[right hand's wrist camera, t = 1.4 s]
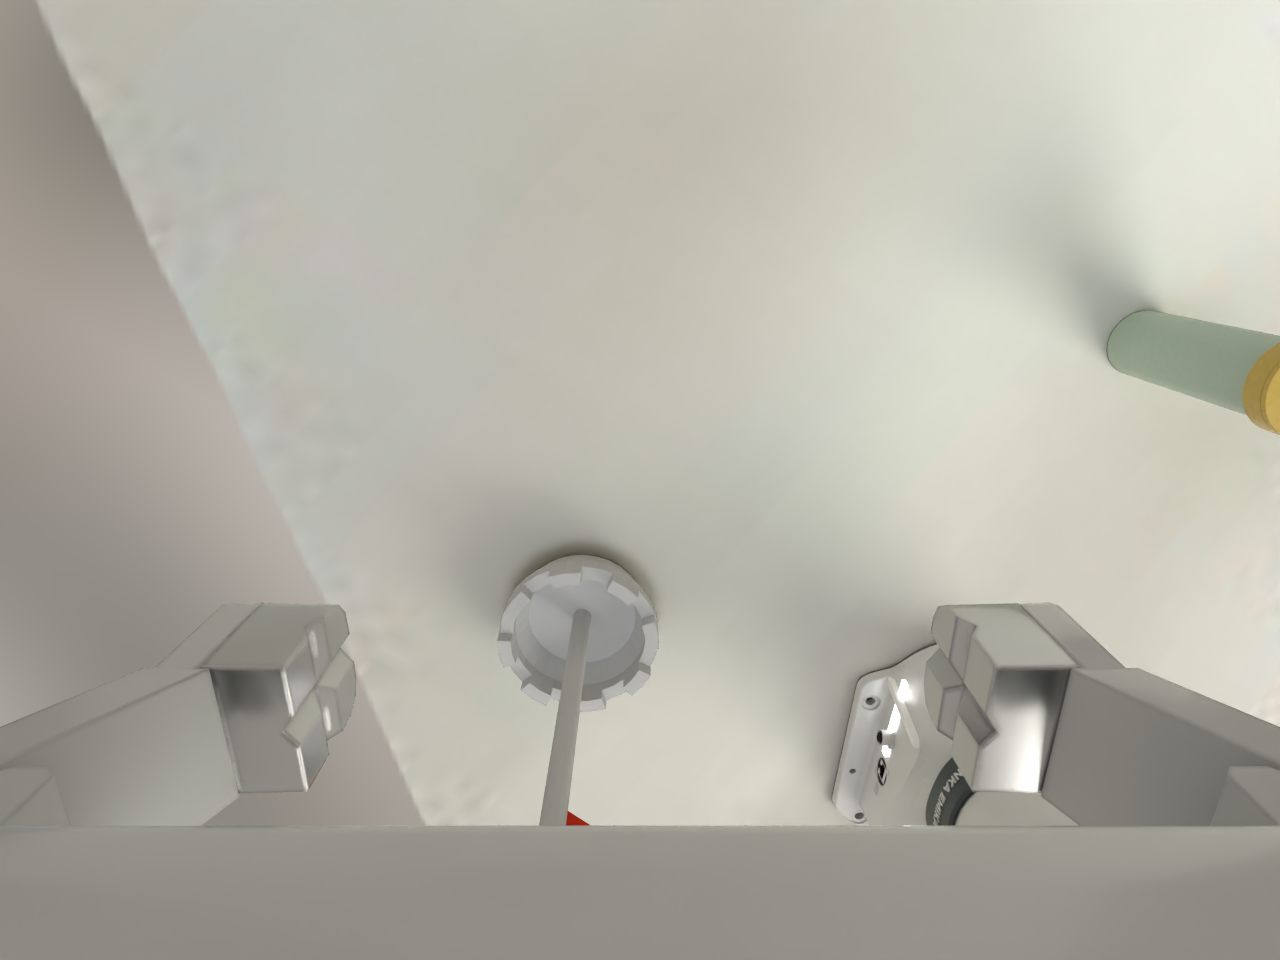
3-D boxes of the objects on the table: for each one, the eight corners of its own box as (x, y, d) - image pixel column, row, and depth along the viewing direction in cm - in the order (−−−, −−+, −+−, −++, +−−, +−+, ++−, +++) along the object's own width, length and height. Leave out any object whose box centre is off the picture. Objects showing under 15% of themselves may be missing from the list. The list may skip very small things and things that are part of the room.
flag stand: (495, 656, 66) (388, 988, 38) (525, 527, 62) (428, 794, 34) (636, 687, 67) (633, 1032, 39) (674, 563, 63) (702, 850, 35)
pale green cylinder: (1102, 323, 56) (1264, 363, 42) (1168, 300, 56) (1356, 333, 41) (1111, 383, 58) (1269, 441, 43) (1175, 362, 57) (1358, 414, 43)
